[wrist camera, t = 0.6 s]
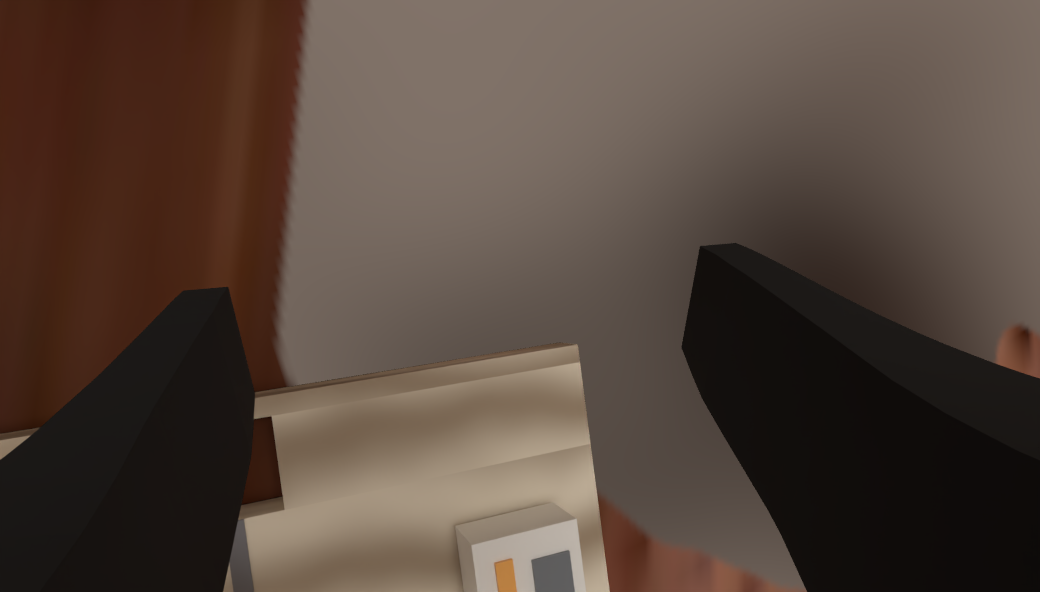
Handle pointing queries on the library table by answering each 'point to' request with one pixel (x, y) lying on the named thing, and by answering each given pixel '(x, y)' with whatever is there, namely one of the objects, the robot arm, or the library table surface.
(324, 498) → the board
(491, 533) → the finder
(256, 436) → the library table surface
